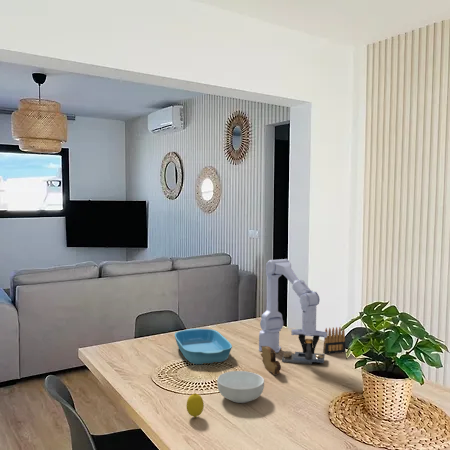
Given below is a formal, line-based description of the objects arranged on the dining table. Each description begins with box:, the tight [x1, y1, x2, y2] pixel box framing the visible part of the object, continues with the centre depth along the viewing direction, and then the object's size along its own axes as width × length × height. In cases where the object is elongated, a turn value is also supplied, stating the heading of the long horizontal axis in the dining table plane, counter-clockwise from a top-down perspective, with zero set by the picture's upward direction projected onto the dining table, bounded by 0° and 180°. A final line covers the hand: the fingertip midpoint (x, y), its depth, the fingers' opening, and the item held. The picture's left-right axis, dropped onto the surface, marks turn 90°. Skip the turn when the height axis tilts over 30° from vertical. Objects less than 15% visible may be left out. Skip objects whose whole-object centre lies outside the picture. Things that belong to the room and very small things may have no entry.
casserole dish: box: [174, 327, 233, 365], centre depth 208 cm, size 37×22×7 cm, turn 18°
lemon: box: [186, 392, 204, 419], centre depth 146 cm, size 6×6×8 cm
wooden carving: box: [260, 346, 282, 376], centre depth 187 cm, size 16×5×10 cm, turn 21°
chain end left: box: [281, 350, 313, 365], centre depth 200 cm, size 13×8×3 cm, turn 75°
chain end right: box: [293, 351, 326, 365], centre depth 198 cm, size 13×8×3 cm, turn 75°
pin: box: [305, 338, 313, 360], centre depth 189 cm, size 3×3×8 cm
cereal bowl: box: [216, 370, 265, 404], centre depth 160 cm, size 17×17×7 cm
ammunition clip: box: [322, 326, 347, 355], centre depth 210 cm, size 11×2×12 cm, turn 105°
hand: (308, 352), depth 189 cm, fingers closed on pin, 3 cm apart
